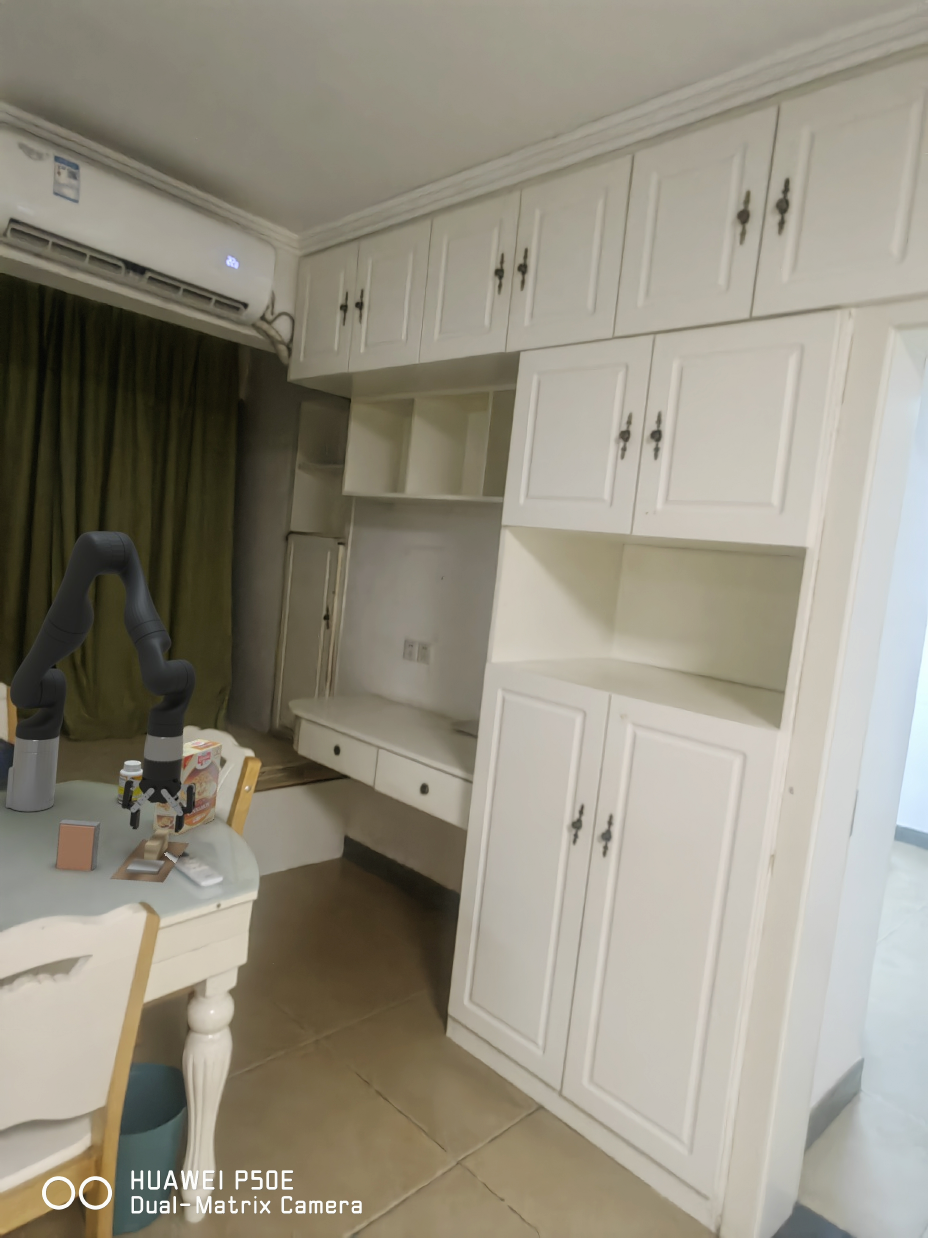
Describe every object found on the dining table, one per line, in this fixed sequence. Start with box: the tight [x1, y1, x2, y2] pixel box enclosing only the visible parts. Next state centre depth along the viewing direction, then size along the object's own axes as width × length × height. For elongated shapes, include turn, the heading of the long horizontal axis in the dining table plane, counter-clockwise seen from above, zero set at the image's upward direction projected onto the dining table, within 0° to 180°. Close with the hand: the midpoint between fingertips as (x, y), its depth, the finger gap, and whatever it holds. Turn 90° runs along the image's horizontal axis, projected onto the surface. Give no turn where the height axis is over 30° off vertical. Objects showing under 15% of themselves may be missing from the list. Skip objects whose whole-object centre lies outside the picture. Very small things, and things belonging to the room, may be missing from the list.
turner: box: [126, 829, 170, 875], centre depth 158 cm, size 14×6×4 cm, turn 6°
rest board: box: [110, 839, 190, 883], centre depth 158 cm, size 10×20×1 cm, turn 6°
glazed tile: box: [55, 818, 101, 872], centre depth 150 cm, size 7×2×10 cm, turn 96°
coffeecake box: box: [152, 738, 223, 836], centre depth 179 cm, size 15×7×20 cm, turn 164°
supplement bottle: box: [117, 760, 143, 805], centre depth 190 cm, size 6×6×10 cm
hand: (156, 830), depth 158 cm, fingers open, 8 cm apart
